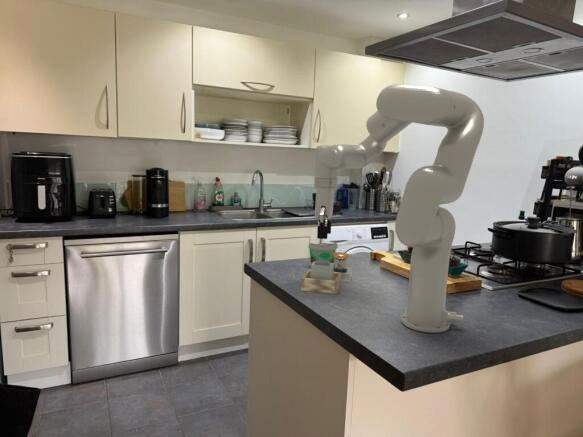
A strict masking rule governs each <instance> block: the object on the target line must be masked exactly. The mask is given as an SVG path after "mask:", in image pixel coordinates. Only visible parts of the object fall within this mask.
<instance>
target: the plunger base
mask: <svg viewBox="0 0 583 437" xmlns="http://www.w3.org/2000/svg"><path fill="white" fill-rule="evenodd" d="M334 272H335V266H334ZM340 273H341V283H351V280H352V276H353V275H352V273H353V268H352V267H346V272H345V273H344V272H340Z"/></svg>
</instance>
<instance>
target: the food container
mask: <svg viewBox="0 0 583 437" xmlns="http://www.w3.org/2000/svg"><path fill="white" fill-rule="evenodd" d="M307 247H308V249H309V258H310V261H309V262H310V266H311V265H312V263H313V261H314V262H315V261H316V260H320V261H331V263H334V264H335V258H334V257H333V253H336V250H337V249H339V248H338V247H339V246H338V243H337V241H334V242H333V243H326V242H321V243H312V242H309V243H308V246H307Z"/></svg>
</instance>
